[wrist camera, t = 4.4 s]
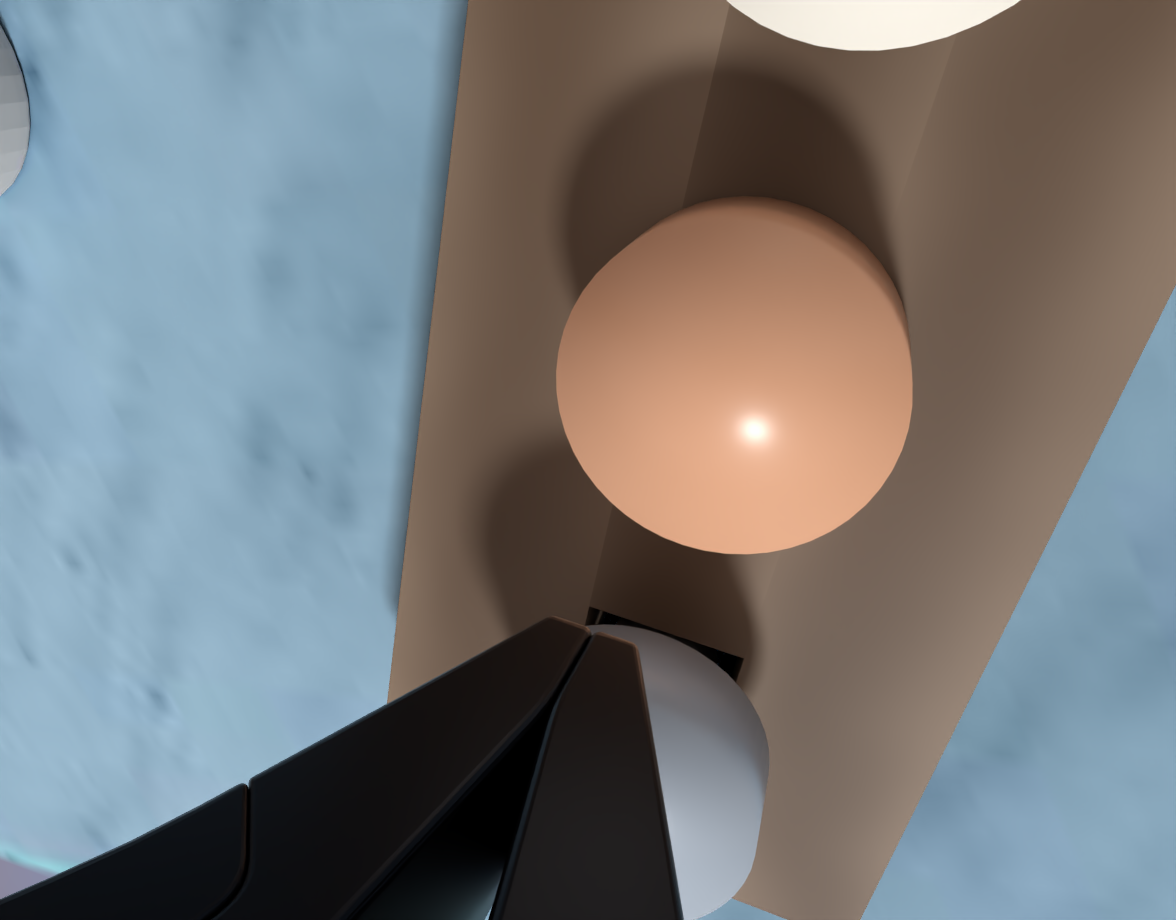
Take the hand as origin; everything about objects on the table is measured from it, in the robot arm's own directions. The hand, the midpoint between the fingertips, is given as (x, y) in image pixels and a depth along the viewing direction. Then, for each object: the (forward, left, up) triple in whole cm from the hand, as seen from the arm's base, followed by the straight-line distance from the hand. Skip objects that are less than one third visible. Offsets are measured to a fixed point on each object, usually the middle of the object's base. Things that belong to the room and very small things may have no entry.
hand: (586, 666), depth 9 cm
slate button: (0, +8, -11) cm, 13 cm away
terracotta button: (0, 0, -12) cm, 12 cm away
